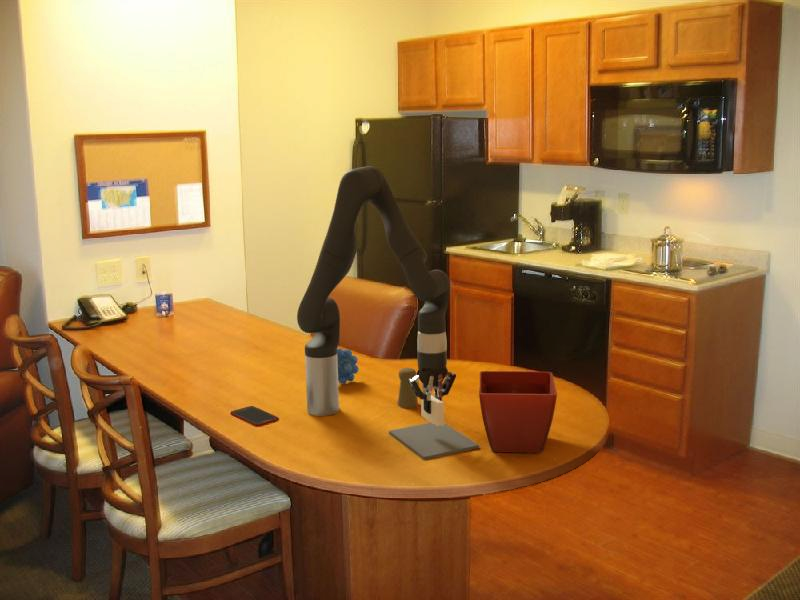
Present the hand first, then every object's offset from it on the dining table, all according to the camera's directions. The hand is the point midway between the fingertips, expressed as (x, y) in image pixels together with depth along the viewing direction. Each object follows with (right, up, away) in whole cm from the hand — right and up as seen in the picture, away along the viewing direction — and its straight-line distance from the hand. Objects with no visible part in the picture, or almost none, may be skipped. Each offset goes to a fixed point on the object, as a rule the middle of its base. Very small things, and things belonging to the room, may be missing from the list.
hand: (432, 411), depth 224 cm
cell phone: (-50, -5, +21) cm, 55 cm away
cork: (-6, -2, +29) cm, 30 cm away
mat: (0, -8, +2) cm, 8 cm away
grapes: (-26, +2, +48) cm, 55 cm away
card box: (0, -2, 0) cm, 2 cm away
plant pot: (+22, -8, -1) cm, 23 cm away
